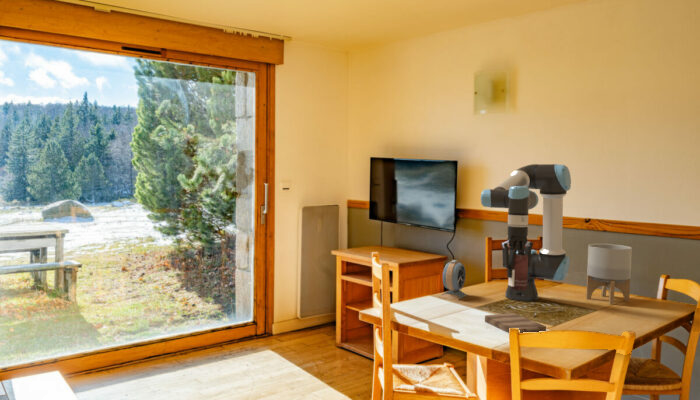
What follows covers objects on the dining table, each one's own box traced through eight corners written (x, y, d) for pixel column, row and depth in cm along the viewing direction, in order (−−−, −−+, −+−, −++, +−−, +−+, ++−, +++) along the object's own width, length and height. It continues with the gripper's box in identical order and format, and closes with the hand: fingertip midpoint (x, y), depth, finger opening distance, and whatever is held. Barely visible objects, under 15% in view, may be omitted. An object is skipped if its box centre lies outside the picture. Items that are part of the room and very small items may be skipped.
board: (484, 321, 222) (484, 315, 222) (514, 318, 226) (514, 313, 226) (518, 337, 201) (518, 331, 200) (550, 334, 205) (550, 328, 205)
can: (507, 288, 216) (508, 253, 215) (520, 287, 218) (521, 252, 217) (516, 291, 210) (517, 255, 209) (530, 290, 212) (531, 254, 211)
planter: (590, 303, 256) (592, 248, 255) (583, 294, 275) (585, 242, 273) (634, 306, 252) (636, 250, 250) (623, 297, 270) (626, 244, 269)
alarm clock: (457, 300, 257) (458, 263, 256) (438, 297, 262) (439, 261, 261) (468, 294, 269) (469, 259, 268) (449, 292, 274) (450, 257, 273)
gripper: (505, 227, 206) (503, 288, 207) (541, 226, 211) (539, 286, 213) (494, 225, 213) (492, 284, 215) (529, 224, 219) (527, 282, 220)
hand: (515, 285), depth 214 cm, fingers open, 3 cm apart
